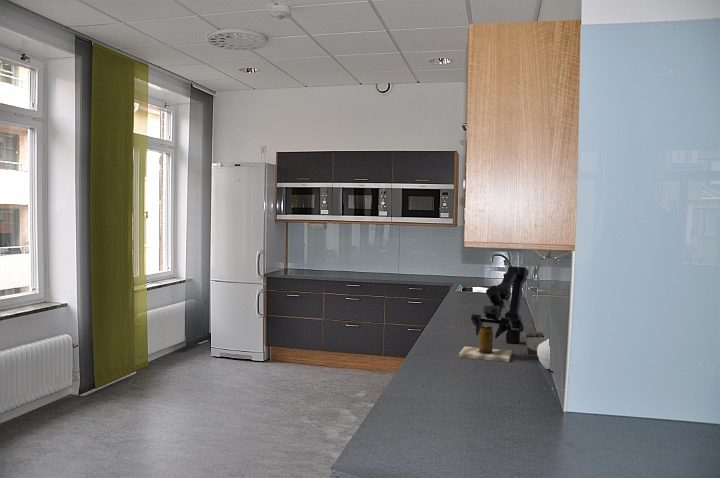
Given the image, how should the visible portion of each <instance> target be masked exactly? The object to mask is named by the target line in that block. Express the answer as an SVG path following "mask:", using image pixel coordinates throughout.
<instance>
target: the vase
mask: <svg viewBox="0 0 720 478" xmlns="http://www.w3.org/2000/svg"><path fill="white" fill-rule="evenodd" d="M537 355H538V356H537V357H538V360H539V362H540V364H541V365H542V366H543V367H544V368H545V369H546V370H547V369H549V367H550V365H549V363H550V346H549V339H547V340H546V341H544V342H542V343H541V344H539V345H538V348H537Z"/></svg>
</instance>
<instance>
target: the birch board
mask: <svg viewBox="0 0 720 478" xmlns="http://www.w3.org/2000/svg"><path fill="white" fill-rule="evenodd" d="M475 350H479V347H473V346H463V348H462V349H461V350H460V352H459V353H458V357H459V358H467V359H475V360H484V361H485V360H486V361H487V360H488V361H496V362H506V363H507V362H510V360H511V357H512V351H513V350H506V349H497V348H496V349H495V348H492V351H494V352H497V354H484V353H480V352H477V351H475Z"/></svg>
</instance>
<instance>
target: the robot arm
mask: <svg viewBox="0 0 720 478" xmlns="http://www.w3.org/2000/svg"><path fill="white" fill-rule="evenodd" d="M528 276H529V269H528V268H527V267H525V266H515V265H510V266H508V268H507V271H506V274H505V275H504V277H503V279H502V281H501V283H499V284H497V285H495V284H493V285H492V286H490V287H488V288H487V289H486V290H485V294H486V297H487V298H488V301H489V303H490V305H483V310H482V313H484V317H482V315H481V314H478V313H472V315H471V316H470V319H471V321H472V324H473V325H474V326H475V335H476V336H478V335H479V333H480V331H481V330H480V329H481V326H482V325H483V323H487V324H491V325H492V324H493V325H498V328H497V330H496V333H495V335H494V338H495V339H497V338H499V336H501V335H502V334H503V333H505V341H506V343H507V344H514V345H516V344H517V345H519V344H521V333H523V332H524V329H525V325H524V324H523V321H522V316H521V313H520V308H521V297H522V293H523V292H522V290H523V285H524V283H525V282H526V281H527V278H528ZM511 287H512V288H511ZM511 289H512V290H511ZM510 298H511V299H510ZM509 299H510V304H509V310H508V311H507V312H505V314H504V317H502V312H503V308H504V309H505V306H506V305H505V301H508V300H509ZM500 318H501V319H500Z"/></svg>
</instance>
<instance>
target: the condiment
mask: <svg viewBox="0 0 720 478" xmlns="http://www.w3.org/2000/svg"><path fill="white" fill-rule="evenodd" d="M478 335H479V336H478V337H479V339H478V340H479V341H478V342H479V343H478V348H479V350H475V351H477V352H480V353H484V354H497V352H494V351H492V349H493V341H494V339H493V337H494V336H493V335H494V332H493V326H492V325H487V324H482V325H481V329H480V332H479V334H478Z"/></svg>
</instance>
